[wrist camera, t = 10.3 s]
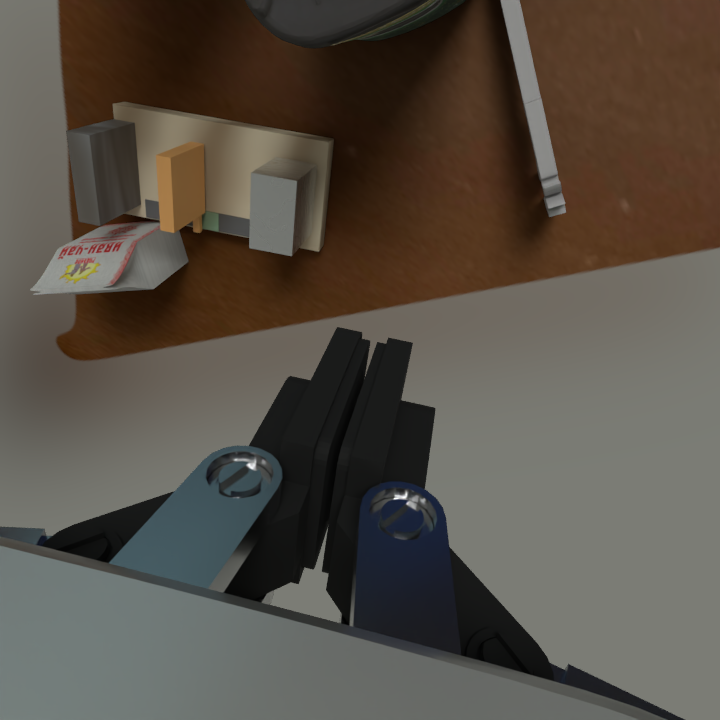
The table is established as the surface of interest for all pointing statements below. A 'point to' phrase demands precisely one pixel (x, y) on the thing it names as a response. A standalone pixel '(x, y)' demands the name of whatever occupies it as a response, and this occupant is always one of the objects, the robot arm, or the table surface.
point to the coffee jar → (345, 18)
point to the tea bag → (114, 260)
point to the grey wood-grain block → (281, 205)
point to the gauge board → (221, 165)
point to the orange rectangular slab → (181, 187)
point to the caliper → (533, 107)
